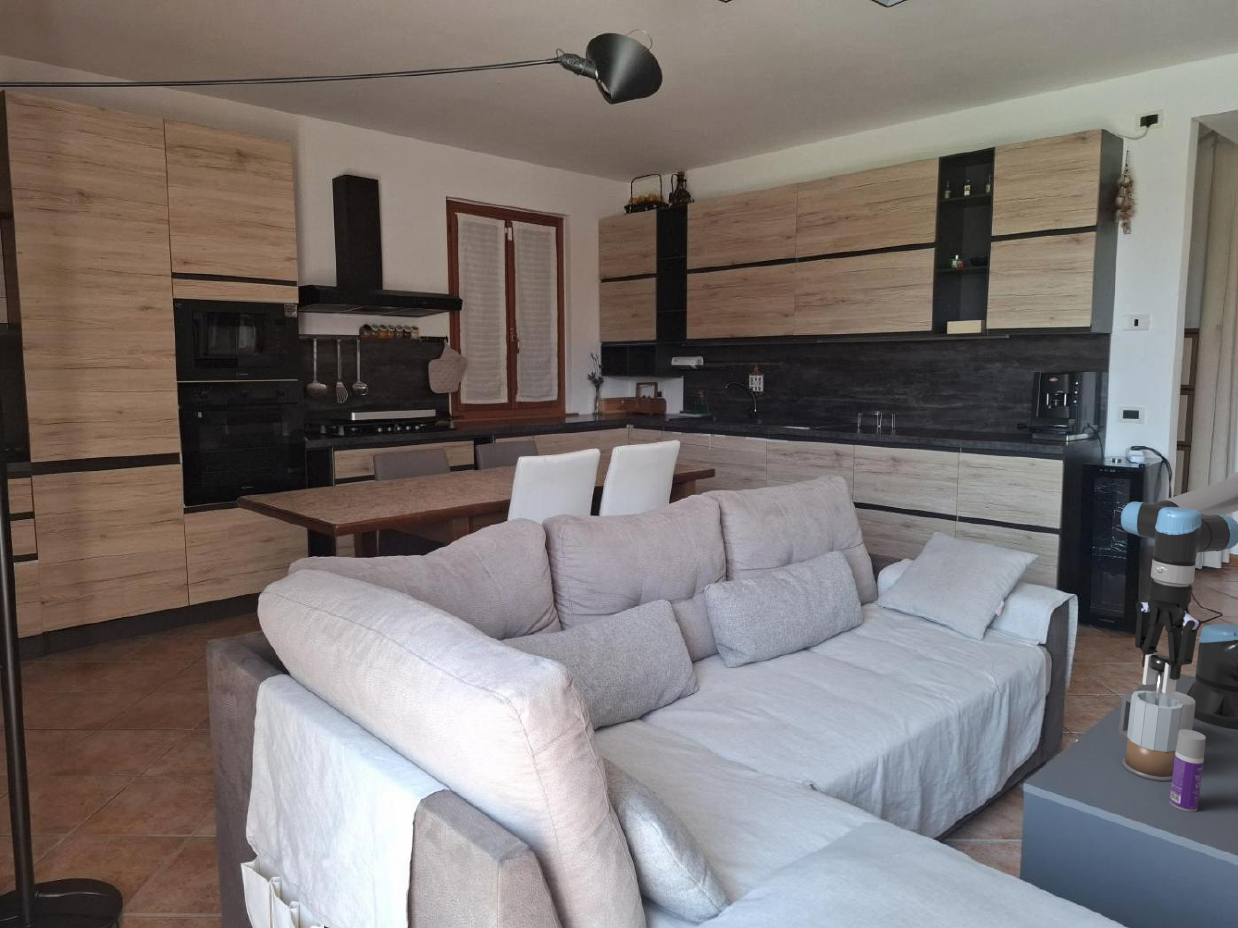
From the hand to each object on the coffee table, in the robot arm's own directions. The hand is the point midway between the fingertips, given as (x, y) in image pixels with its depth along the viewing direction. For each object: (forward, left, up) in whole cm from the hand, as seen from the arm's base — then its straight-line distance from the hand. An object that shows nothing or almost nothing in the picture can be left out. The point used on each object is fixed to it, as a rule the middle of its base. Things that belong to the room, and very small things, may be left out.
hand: (1158, 687), depth 178 cm
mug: (-18, -10, -19) cm, 28 cm away
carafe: (0, -1, -19) cm, 19 cm away
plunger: (0, 0, -11) cm, 11 cm away
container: (+6, +13, -19) cm, 24 cm away
